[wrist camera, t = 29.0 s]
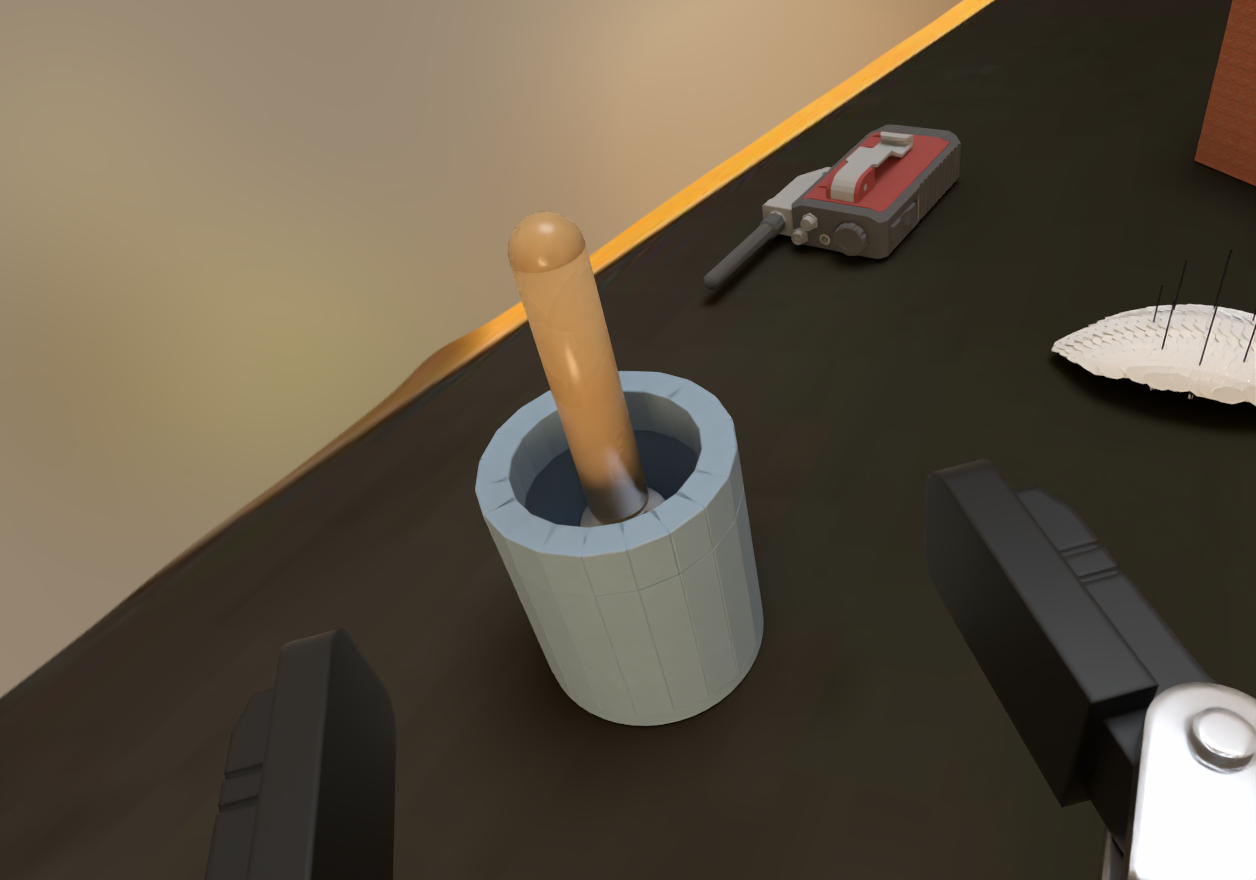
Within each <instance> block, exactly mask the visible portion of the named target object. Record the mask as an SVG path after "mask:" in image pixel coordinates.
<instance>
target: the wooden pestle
mask: <svg viewBox="0 0 1256 880" xmlns="http://www.w3.org/2000/svg"><path fill="white" fill-rule="evenodd" d="M508 257H509V262H510V265H511V268H512V271H513V274H514V277H515V280H516V283H517V287H518V290H519V293H520V296H521V299H522V302H523V305H524V308H525V311H526V314H527V318H528V321H529V324H530V327H531V330H532V333H533V336H534V339H535V342H536V345H537V349H538V352H539V355H540V358H541V361H542V364H543V367H544V370H545V373H546V376H547V380H548V383H549V386H550V389H551V392H552V395H553V398H554V401H555V404H556V407H557V410H558V414H559V417H560V420H561V423H562V426H563V429H564V432H565V435H566V438H567V441H568V445H569V448H570V451H571V454H572V457H573V460H574V463H575V466H576V469H577V472H578V475H579V479H580V482H581V485H582V488H583V491H584V494H585V497H586V500H587V503H588V505H587V506H586V507H585V509H584V511H583V512H582V515H581V517H580V521H579V527H587V528H589V527H596V526H603V525H609V524H616V523H622V522H624V521H627V520H629V519H632V518H634V517H637V516H639V515H642V514H645V513H647V512H650V511H652V510H653V509H655V508H656V507H657V506H659V505H660V504H662V503H663V502H665V501H666V499H665V498H664V497H663V496H662V495H661V494H660V493H658V492H657V491H655V490H653V489H651V488H648V487H647V484H646V480H645V476H644V472H643V468H642V464H641V460H640V456H639V452H638V448H637V444H636V440H635V436H634V433H633V429H632V425H631V421H630V417H629V413H628V409H627V405H626V401H625V397H624V393H623V389H622V385H621V381H620V377H619V374H618V370H617V366H616V362H615V358H614V354H613V350H612V346H611V342H610V338H609V334H608V330H607V326H606V322H605V318H604V315H603V311H602V307H601V303H600V299H599V295H598V291H597V287H596V283H595V279H594V275H593V271H592V267H591V263H590V259H589V256H588V252H587V248H586V244H585V240H584V238H583V235H582V233H581V231H580V230H579V228H578V227H577V226H576V224H575V223H573V222H572V221H571V220H570V219H569V218H567V217H566V216H564V215H562V214H559V213H555V212H551V211H543V212H537V213H533V214H531V215H529V216H527V217H525V218H524V219H523V220H521V221H520V222H519V223H518V225H517V226H516V227H515V228H514V230H513V232H512V234H511V236H510V239H509V244H508Z"/></svg>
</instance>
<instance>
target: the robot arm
mask: <svg viewBox="0 0 1256 880" xmlns="http://www.w3.org/2000/svg"><path fill="white" fill-rule="evenodd" d="M923 550H924V557H925V562H926V566H927V569H928V572H929V575H930V578H931V580H932V582H933V585H934V587H935V589H936V591H937V592H938V594H939V596H940V598H941V599H942V601H943V603H944V605H945V606H946V608H947V610H948V611H949V613H950V615H951V617H952V618H953V620H954V622H955V624H956V625H957V627H958V629H959V630H960V632H961V634H962V636H963V637H964V639H965V641H966V643H967V644H968V646H969V648H970V650H971V651H972V653H973V655H974V656H975V658H976V660H977V662H978V663H979V665H980V667H981V669H982V670H983V672H984V674H985V675H986V677H987V679H988V681H989V682H990V684H991V686H992V688H993V689H994V691H995V693H996V694H997V696H998V698H999V700H1000V701H1001V703H1002V705H1003V707H1004V708H1005V710H1006V712H1007V713H1008V715H1009V717H1010V719H1011V720H1012V722H1013V724H1014V726H1015V727H1016V729H1017V731H1018V732H1019V734H1020V736H1021V738H1022V739H1023V741H1024V743H1025V745H1026V746H1027V748H1028V750H1029V751H1030V753H1031V755H1032V757H1033V758H1034V760H1035V762H1036V764H1037V765H1038V767H1039V769H1040V771H1041V772H1042V774H1043V776H1044V777H1045V779H1046V781H1047V783H1048V784H1049V786H1050V788H1051V790H1052V791H1053V793H1054V795H1055V796H1056V798H1057V800H1058V802H1059V803H1060V805H1061V807H1065V806H1069V805H1073V804H1076V803H1080V802H1084V801H1087V800H1091V801H1092V803H1093V805H1094V806H1095V808H1096V810H1097V811H1098V813H1099V815H1100V816H1101V818H1102V820H1103V821H1104V823H1105V824H1106V825H1105V829H1104V833H1103V840H1102V848H1101V856H1100V864H1099V872H1098V879H1097V880H1256V699H1254V698H1252V697H1251V696H1249V695H1247V694H1244V693H1242V692H1240V691H1238V690H1235V689H1232V688H1229V687H1226V686H1222V685H1220V684H1218V683H1217V682H1216V681H1215V680H1214V679H1213V678H1211V677H1210V676H1209V675H1208V674H1207V673H1206V672H1205V671H1204V670H1203V668H1202V667H1201V666H1200V665H1199V664H1198V663H1197V661H1196V660H1195V659H1194V658H1193V656H1192V655H1191V654H1190V653H1189V652H1188V650H1187V649H1186V648H1185V647H1184V645H1183V644H1182V643H1181V642H1180V640H1179V639H1178V638H1177V637H1176V635H1175V634H1174V633H1173V632H1172V630H1171V629H1170V628H1169V627H1168V625H1167V624H1166V623H1165V622H1164V621H1163V619H1162V618H1161V617H1160V616H1159V614H1158V613H1157V612H1156V611H1155V609H1154V608H1153V607H1152V606H1151V604H1150V603H1149V602H1148V601H1147V599H1146V598H1145V597H1144V596H1143V594H1142V593H1141V592H1140V591H1139V590H1138V588H1137V587H1136V586H1135V585H1134V583H1133V582H1132V581H1131V580H1130V578H1129V577H1128V576H1127V575H1126V573H1125V572H1124V573H1122V572H1121V571H1120V568H1119V565H1118V563H1117V562H1116V561H1115V560H1114V559H1113V557H1112V556H1111V555H1110V554H1109V552H1108V551H1107V550H1106V549H1105V547H1104V546H1103V547H1101V546H1100V544H1099V540H1098V539H1097V537H1096V536H1095V535H1094V534H1093V533H1092V531H1091V530H1090V529H1089V528H1088V526H1087V525H1086V524H1085V523H1084V521H1083V520H1082V519H1081V518H1080V516H1079V515H1078V514H1077V513H1076V511H1075V510H1074V509H1073V508H1071V507H1069V506H1068V505H1066V504H1065V503H1063V502H1061V501H1060V500H1058V499H1057V498H1055V497H1053V496H1052V495H1050V494H1049V493H1047V492H1045V491H1044V490H1042V489H1041V488H1039V487H1037V486H1034V487H1031V488H1027V489H1023V490H1019V491H1016V492H1014V490H1013V489H1012V488H1011V486H1010V485H1009V484H1008V482H1007V481H1006V480H1005V478H1004V477H1003V476H1002V474H1001V473H1000V472H999V470H998V469H997V468H996V466H995V465H994V464H993V463H992V462H991V461H989V460H987V459H979V460H975V461H972V462H968V463H964V464H960V465H957V466H953V467H949V468H945V469H942V470H938V471H934V472H931V473H929V474H928V476H927V479H926V493H925V515H924V537H923ZM395 764H396V723H395V716H394V711H393V707H392V703H391V700H390V697H389V695H388V692H387V690H386V688H385V687H384V685H383V684H382V682H381V681H380V679H379V678H378V676H377V675H376V673H375V672H374V670H373V669H372V667H371V666H370V664H369V663H368V661H367V660H366V658H365V657H364V655H363V654H362V652H361V651H360V649H359V648H358V646H357V645H356V643H355V642H354V641H353V639H352V638H351V636H350V635H349V633H348V632H347V631H346V630H344V629H337V630H333V631H329V632H326V633H322V634H318V635H315V636H311V637H307V638H303V639H300V640H296V641H292V642H289V643H286V644H285V645H284V646H283V648H282V649H281V652H280V656H279V661H278V668H277V674H276V681H275V688H274V689H270V690H266V691H263V692H259V693H255V694H253V696H252V697H251V699H250V701H249V703H248V705H247V706H246V708H245V710H244V712H243V714H242V715H241V717H240V719H239V721H238V722H237V724H236V726H235V728H234V730H233V731H232V733H231V739H230V744H229V750H228V755H227V760H226V766H225V771H224V774H225V777H226V779H225V781H223V782H222V788H221V793H220V798H219V804H218V807H219V809H220V812H219V814H217V815H216V820H215V825H214V831H213V836H212V842H211V847H210V853H209V858H208V863H207V869H206V874H205V880H393V845H394V805H395Z"/></svg>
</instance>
